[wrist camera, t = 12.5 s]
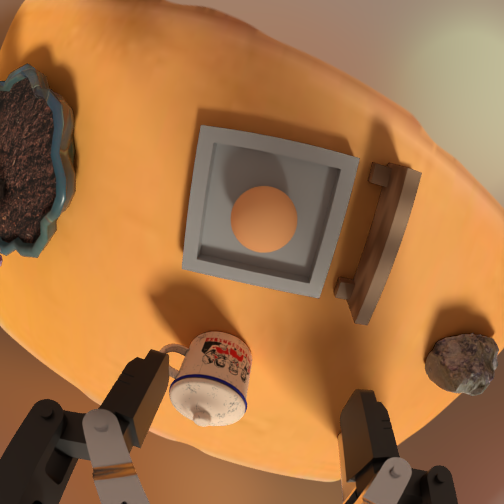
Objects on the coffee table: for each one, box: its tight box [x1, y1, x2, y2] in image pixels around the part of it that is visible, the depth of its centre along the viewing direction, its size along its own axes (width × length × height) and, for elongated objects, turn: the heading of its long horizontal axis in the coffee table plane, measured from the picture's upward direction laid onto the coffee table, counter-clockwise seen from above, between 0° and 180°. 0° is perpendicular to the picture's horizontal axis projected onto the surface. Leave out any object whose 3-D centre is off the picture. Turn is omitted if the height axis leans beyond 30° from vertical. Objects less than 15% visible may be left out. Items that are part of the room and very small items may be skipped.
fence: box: [334, 162, 422, 325], centre depth 27 cm, size 16×5×5 cm, turn 169°
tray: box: [182, 125, 360, 298], centre depth 28 cm, size 15×15×2 cm
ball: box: [231, 186, 297, 253], centre depth 26 cm, size 6×6×6 cm
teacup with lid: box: [159, 332, 252, 427], centre depth 32 cm, size 12×9×12 cm
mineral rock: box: [425, 333, 499, 396], centre depth 29 cm, size 13×11×10 cm
